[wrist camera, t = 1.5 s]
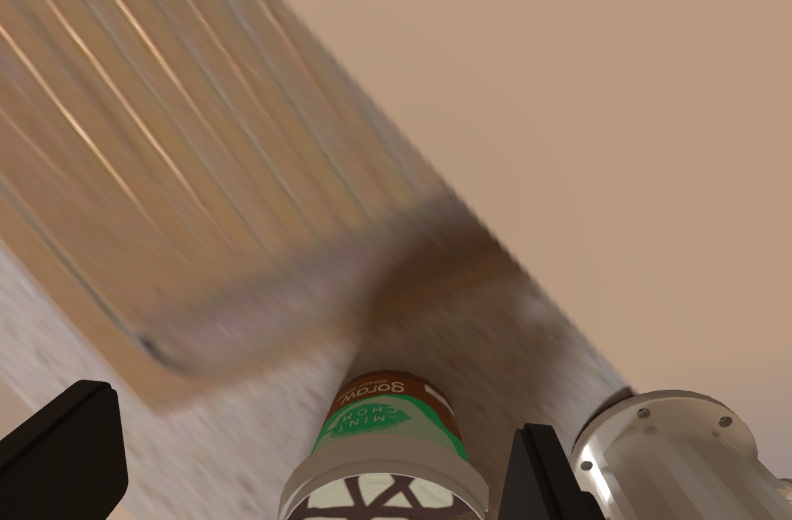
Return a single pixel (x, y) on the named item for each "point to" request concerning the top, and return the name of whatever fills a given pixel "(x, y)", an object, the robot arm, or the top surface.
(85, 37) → the top surface
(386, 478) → the food container
